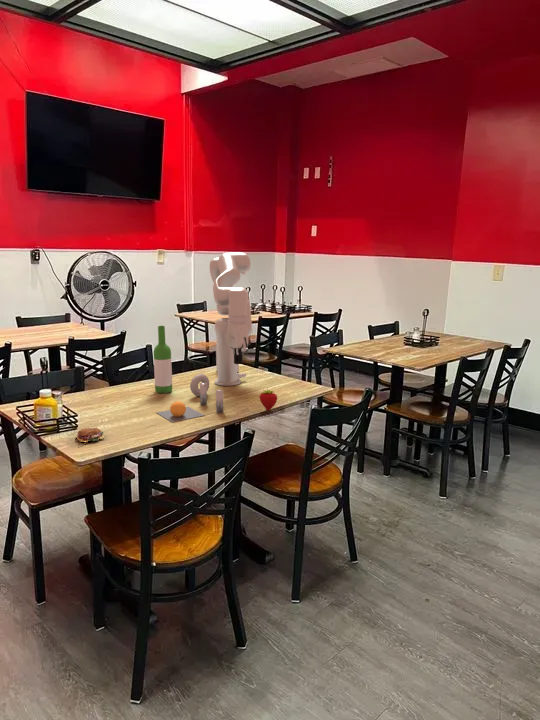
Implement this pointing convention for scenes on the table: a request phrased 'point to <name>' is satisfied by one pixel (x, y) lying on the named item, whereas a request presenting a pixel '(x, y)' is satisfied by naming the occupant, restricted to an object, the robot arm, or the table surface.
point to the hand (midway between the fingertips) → (238, 363)
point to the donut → (195, 382)
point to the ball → (177, 409)
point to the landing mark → (187, 415)
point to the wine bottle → (162, 364)
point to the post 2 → (219, 401)
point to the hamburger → (89, 434)
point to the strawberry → (268, 399)
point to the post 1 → (203, 393)
